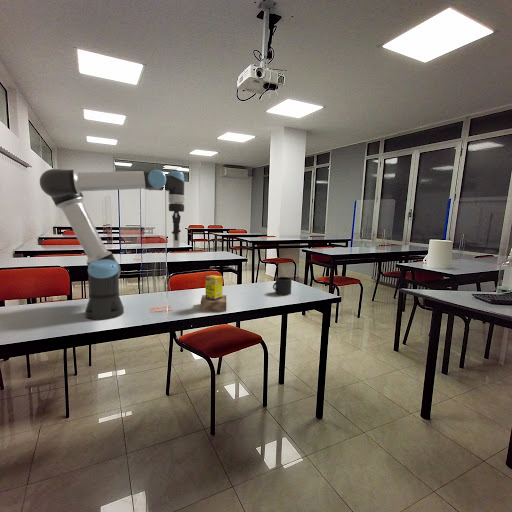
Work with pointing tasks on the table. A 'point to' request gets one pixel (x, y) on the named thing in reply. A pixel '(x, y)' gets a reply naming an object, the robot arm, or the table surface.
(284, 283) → the mug
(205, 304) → the walnut block
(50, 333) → the table surface
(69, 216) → the robot arm
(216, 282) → the supplement box
